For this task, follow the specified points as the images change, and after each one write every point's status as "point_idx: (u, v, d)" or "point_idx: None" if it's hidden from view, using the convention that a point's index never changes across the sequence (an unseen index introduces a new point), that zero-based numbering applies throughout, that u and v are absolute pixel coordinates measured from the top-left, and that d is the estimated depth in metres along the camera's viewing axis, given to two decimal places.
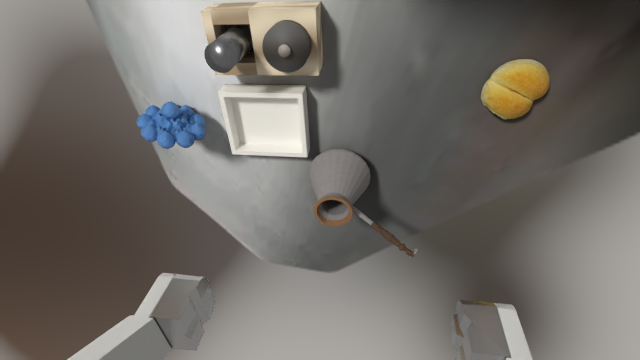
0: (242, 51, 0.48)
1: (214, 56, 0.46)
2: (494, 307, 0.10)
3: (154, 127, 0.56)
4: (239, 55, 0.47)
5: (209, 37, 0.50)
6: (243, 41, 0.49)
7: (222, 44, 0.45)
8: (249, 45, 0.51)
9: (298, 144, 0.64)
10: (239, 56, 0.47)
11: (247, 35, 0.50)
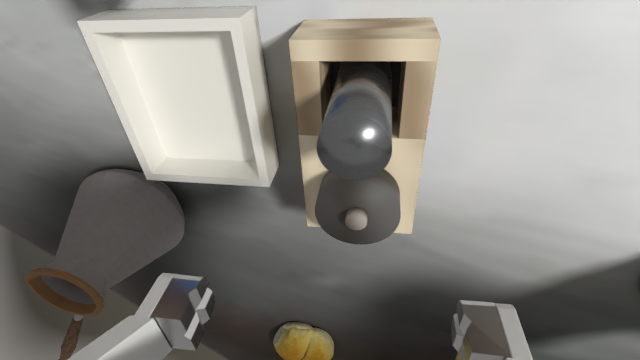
0: None
1: (358, 139, 0.18)
2: (494, 307, 0.10)
3: None
4: None
5: (378, 46, 0.21)
6: None
7: (384, 162, 0.19)
8: None
9: (163, 146, 0.34)
10: None
11: None
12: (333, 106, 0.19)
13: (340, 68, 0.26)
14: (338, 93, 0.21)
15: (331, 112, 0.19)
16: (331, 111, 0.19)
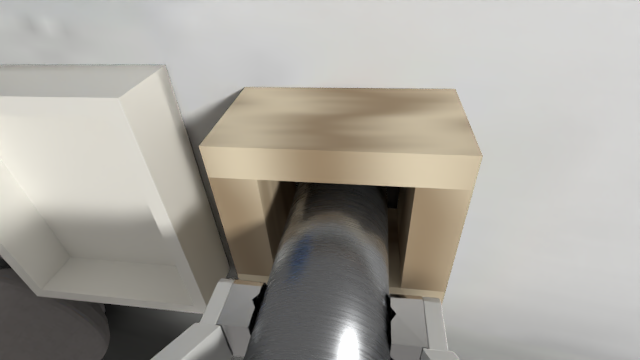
0: None
1: None
2: (421, 301, 0.10)
3: None
4: None
5: (363, 162, 0.11)
6: None
7: None
8: None
9: (64, 245, 0.24)
10: None
11: None
12: (272, 303, 0.10)
13: None
14: (287, 256, 0.11)
15: (264, 327, 0.09)
16: (265, 322, 0.09)
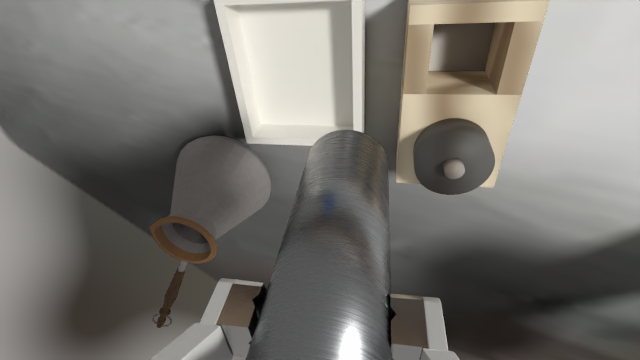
0: None
1: None
2: (421, 300, 0.10)
3: None
4: None
5: (491, 8, 0.24)
6: None
7: None
8: None
9: (260, 114, 0.37)
10: None
11: None
12: (274, 303, 0.10)
13: (306, 165, 0.16)
14: (289, 256, 0.11)
15: (267, 327, 0.09)
16: (267, 321, 0.09)
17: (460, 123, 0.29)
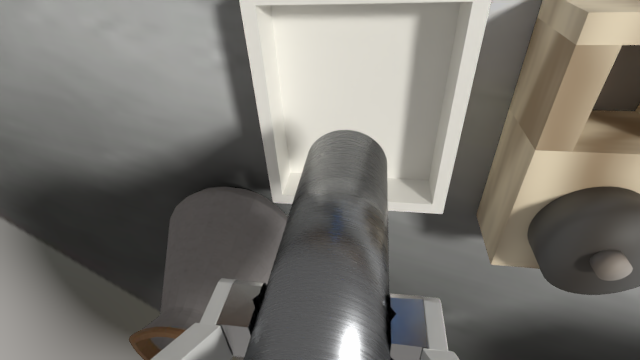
0: None
1: None
2: (421, 301, 0.10)
3: None
4: None
5: None
6: None
7: None
8: None
9: (290, 159, 0.26)
10: None
11: None
12: (272, 303, 0.10)
13: (305, 166, 0.16)
14: (287, 257, 0.11)
15: (264, 327, 0.09)
16: (265, 322, 0.09)
17: (624, 197, 0.18)
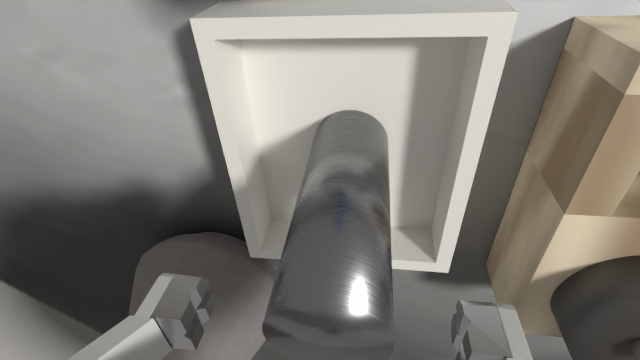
0: None
1: (333, 328, 0.10)
2: (495, 308, 0.10)
3: None
4: None
5: None
6: None
7: (381, 356, 0.11)
8: None
9: (271, 205, 0.23)
10: None
11: None
12: (292, 251, 0.11)
13: (314, 142, 0.17)
14: (304, 216, 0.13)
15: (288, 269, 0.11)
16: (288, 265, 0.11)
17: None
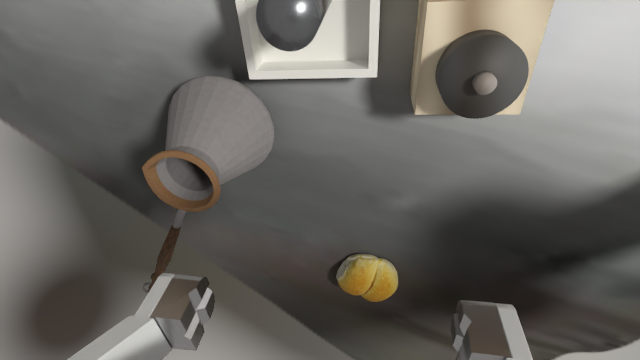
0: None
1: (289, 6, 0.21)
2: (494, 307, 0.10)
3: None
4: None
5: None
6: None
7: (314, 29, 0.22)
8: None
9: (262, 49, 0.34)
10: None
11: None
12: None
13: None
14: None
15: None
16: None
17: (490, 32, 0.26)
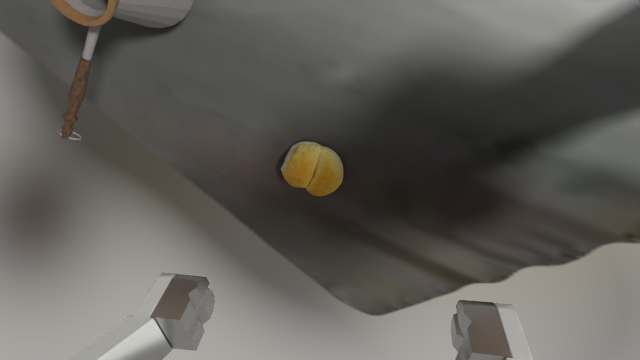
0: None
1: None
2: (494, 307, 0.10)
3: None
4: None
5: None
6: None
7: None
8: None
9: None
10: None
11: None
12: None
13: None
14: None
15: None
16: None
17: None
